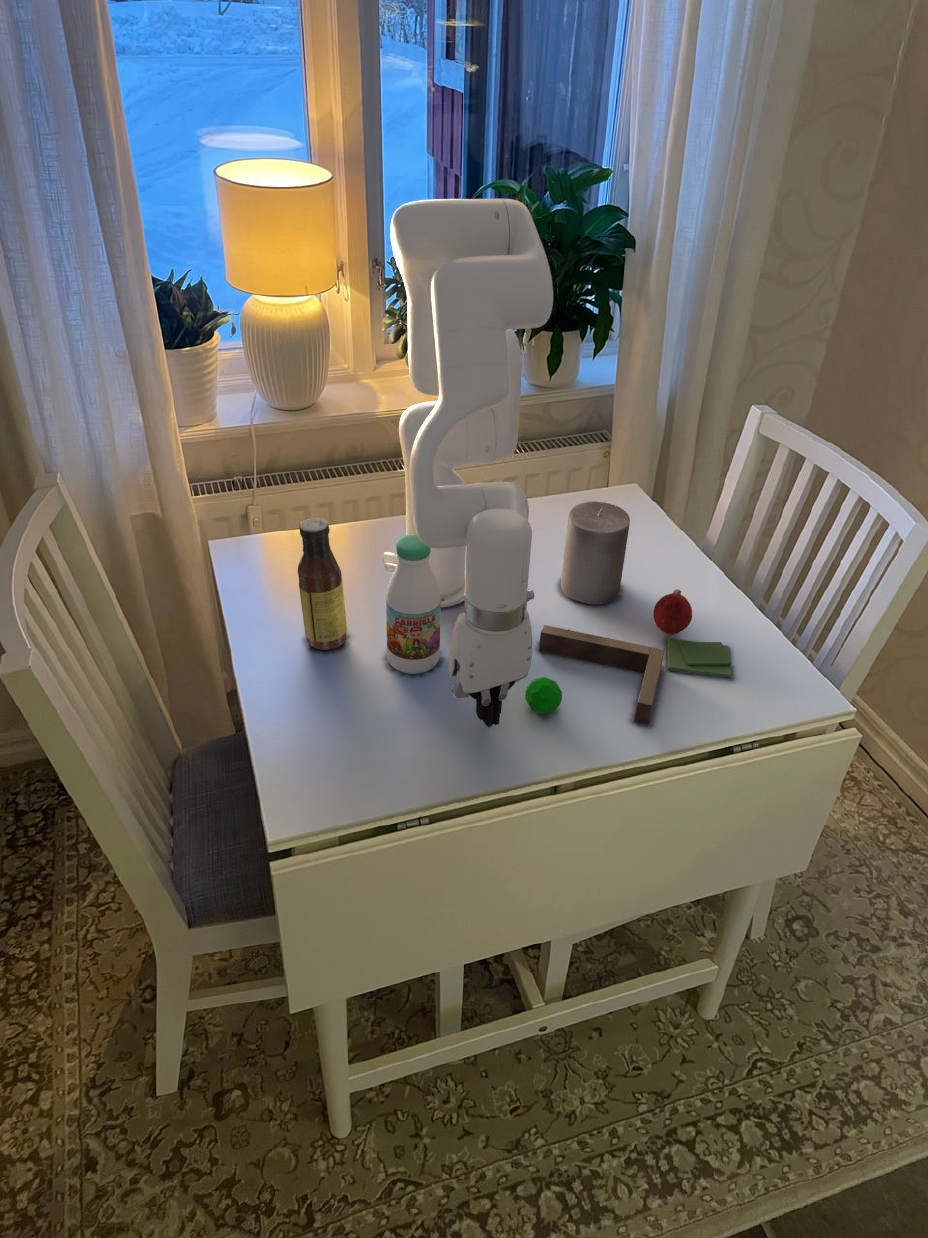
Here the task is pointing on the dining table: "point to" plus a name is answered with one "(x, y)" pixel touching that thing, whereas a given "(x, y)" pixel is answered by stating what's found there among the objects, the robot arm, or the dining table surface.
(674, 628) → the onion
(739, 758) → the dining table surface
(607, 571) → the pillar candle
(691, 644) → the green rag
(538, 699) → the polyhedron
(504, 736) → the dining table surface
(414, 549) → the milk bottle
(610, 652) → the corner stop
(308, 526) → the sauce bottle
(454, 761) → the dining table surface
